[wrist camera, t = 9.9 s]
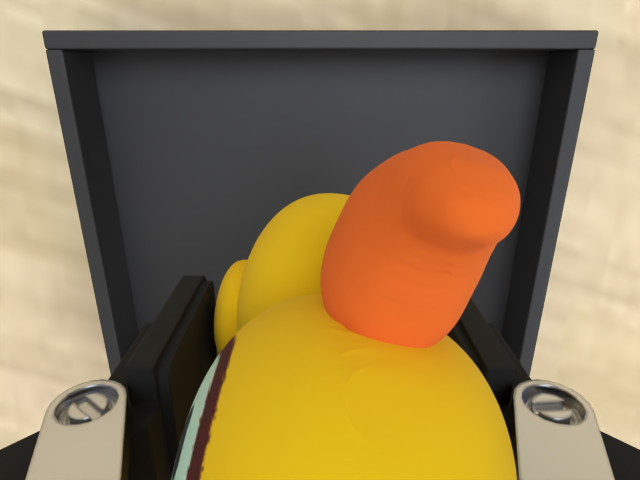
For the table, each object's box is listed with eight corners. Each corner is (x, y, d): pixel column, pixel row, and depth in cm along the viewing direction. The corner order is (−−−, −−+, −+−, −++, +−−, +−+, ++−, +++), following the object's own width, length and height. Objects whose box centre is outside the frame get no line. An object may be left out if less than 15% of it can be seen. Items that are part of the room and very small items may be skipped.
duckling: (272, 67, 12) (80, 78, 2) (469, 119, 12) (973, 302, 3) (205, 411, 16) (35, 925, 6) (356, 439, 16) (407, 959, 7)
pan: (505, 355, 24) (527, 390, 21) (135, 355, 24) (113, 390, 21) (560, 35, 18) (599, 30, 16) (79, 35, 18) (40, 30, 16)
